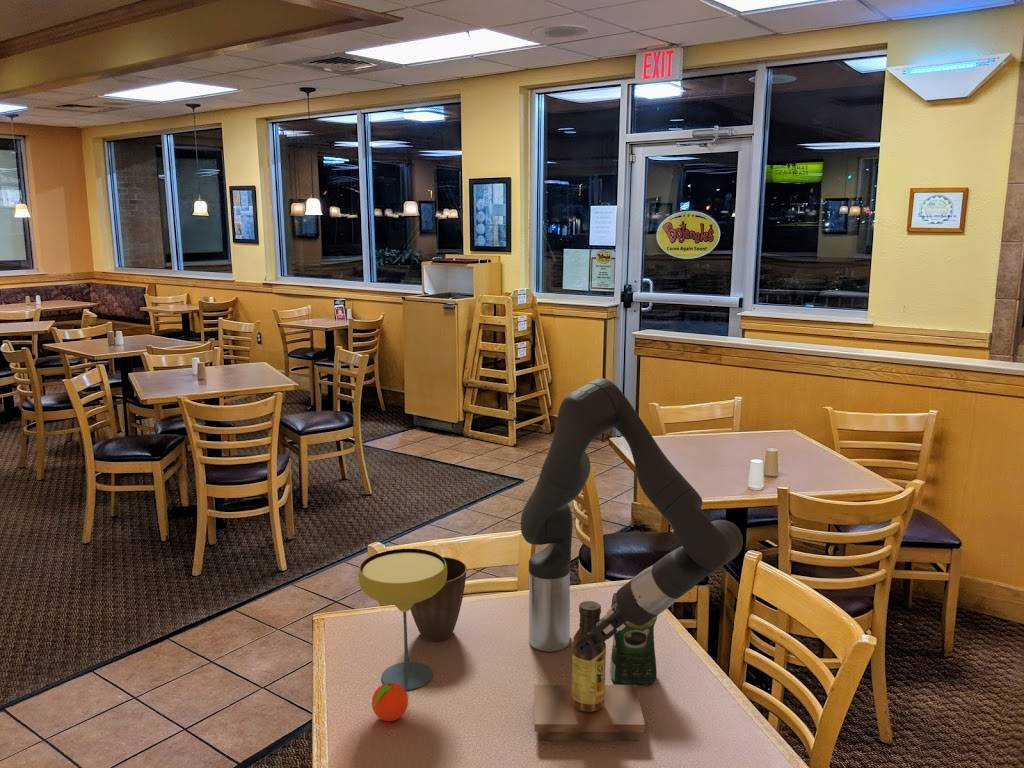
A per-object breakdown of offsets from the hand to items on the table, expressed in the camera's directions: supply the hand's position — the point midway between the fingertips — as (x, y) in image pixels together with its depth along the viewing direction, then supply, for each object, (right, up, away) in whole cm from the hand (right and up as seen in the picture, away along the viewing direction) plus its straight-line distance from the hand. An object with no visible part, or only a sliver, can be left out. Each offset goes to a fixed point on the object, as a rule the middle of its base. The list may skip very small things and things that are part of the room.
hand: (588, 639), depth 150 cm
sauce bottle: (0, -13, +2) cm, 14 cm away
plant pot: (-32, -11, +38) cm, 51 cm away
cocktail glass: (-36, -14, +20) cm, 44 cm away
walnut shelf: (0, -17, +3) cm, 17 cm away
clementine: (-38, -17, +5) cm, 42 cm away
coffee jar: (+11, -14, +19) cm, 26 cm away
